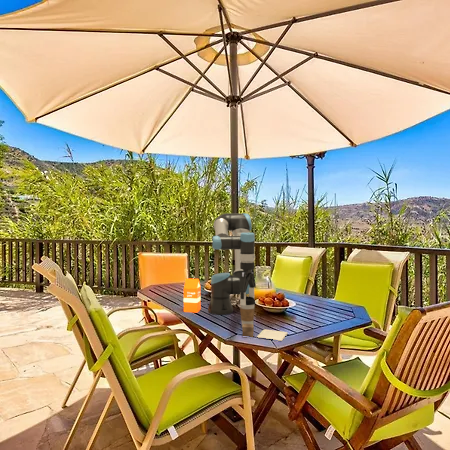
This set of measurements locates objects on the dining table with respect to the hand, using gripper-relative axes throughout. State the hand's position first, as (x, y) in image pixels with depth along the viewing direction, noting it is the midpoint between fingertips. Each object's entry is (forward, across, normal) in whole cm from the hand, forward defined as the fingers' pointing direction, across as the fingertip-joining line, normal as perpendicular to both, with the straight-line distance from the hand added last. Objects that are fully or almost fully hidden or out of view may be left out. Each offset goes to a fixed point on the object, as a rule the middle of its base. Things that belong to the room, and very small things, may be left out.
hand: (247, 302), depth 174 cm
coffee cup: (+13, 0, 0) cm, 13 cm away
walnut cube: (+13, -12, -5) cm, 19 cm away
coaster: (+13, -8, -16) cm, 22 cm away
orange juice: (+12, +16, +42) cm, 47 cm away
